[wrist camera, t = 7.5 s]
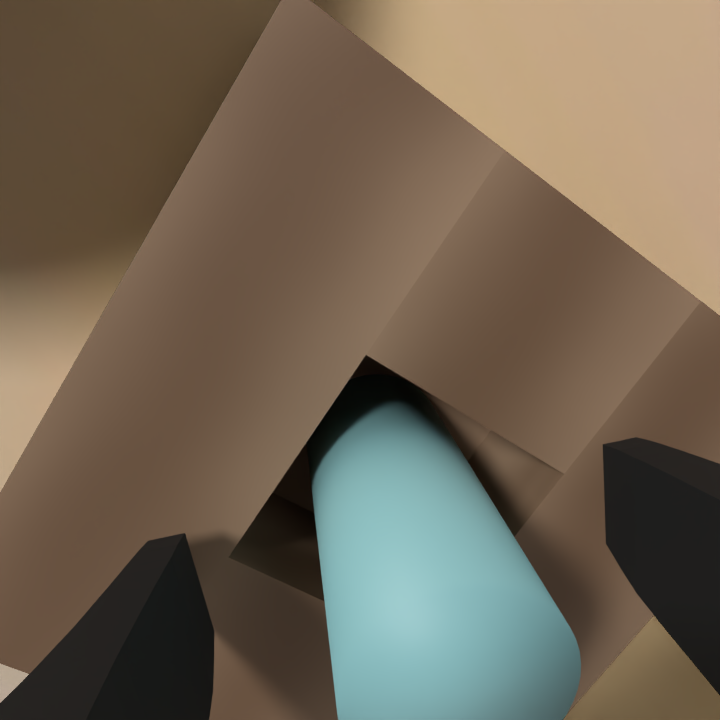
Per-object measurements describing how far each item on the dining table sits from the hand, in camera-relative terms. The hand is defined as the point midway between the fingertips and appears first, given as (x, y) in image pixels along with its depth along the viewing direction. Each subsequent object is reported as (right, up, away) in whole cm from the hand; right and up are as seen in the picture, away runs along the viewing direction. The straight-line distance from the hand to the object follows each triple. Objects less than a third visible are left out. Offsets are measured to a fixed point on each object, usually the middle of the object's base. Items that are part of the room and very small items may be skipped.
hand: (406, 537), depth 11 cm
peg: (0, +1, +3) cm, 4 cm away
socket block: (-1, +1, +4) cm, 5 cm away
